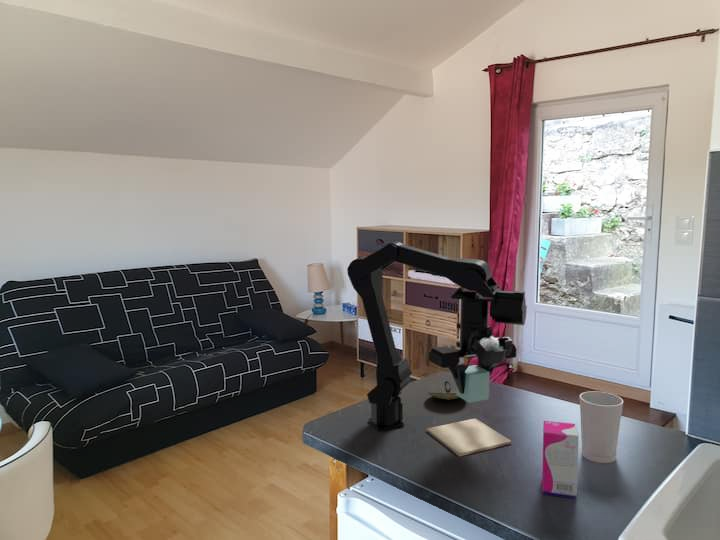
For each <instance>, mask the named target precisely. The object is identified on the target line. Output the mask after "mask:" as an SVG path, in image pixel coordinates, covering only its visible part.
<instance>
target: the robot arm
mask: <svg viewBox="0 0 720 540" xmlns="http://www.w3.org/2000/svg"><path fill="white" fill-rule="evenodd" d="M395 262H396V263H399V264H403V265H406V266H409V267H412V268H416V269H419V270H423V271H426V272H429V273H433V274H434V275H435V274H437V275H439V276H442V277H444V278H445V279H448V280H449V281H450V282H452V283H453V284H455V285H457V286H458V288H457V290H456V291H455V292H454V293H452V295H450V298H451V299H453V300H460V313H459V315H460V320H459V321H460V322H456V328H457V329H459V341H456V346H455V347H457V348H458V349H453V348H451V347H448V346H447V345H445V346H438V347H432V348H430V350H429V352H428V361H429V362H431V363H433V364H435V365H436V366H438V367H439V368H443V369H447V368H448V370H449V372H451V375H452V377H453V380H454V382H455V386H456V385H457V387H458V390H459V392H460V393H461V394H464V388H465V371H466V369H467V368H468V366H469V365H467V364H465V359H467V358H468V359H470V358H475V357H477V366H479V367H481V368H483V369H485V370H487V371H489V372H490V377H491V376H492V374H493V372H494V369H495V367H497V366H498V365H500V364H502V363H504V362H505V359H506V360H507V359H513V358H517V350H518V349H517V347H516V345H515V344H514V343H513V339H511V337H509V336H503V337H502V336H501V337H494V335H493V326H490V325H489V317H490V318H491V319H492V320H493V321H494V322H495V323H496V324H497V323H498V324H505V325H507V324H508V325H509V324H510V325H517V326H525V323H526V319H527V307H528V306H527V305H526V303H527V301H526V293H525V291H524V290H516V291H510V290H502V289H501V287H500V286H499V284H498V283H497V281H496V280H495V278H494V277H493V276H492V273H493V272H492V269H491V267H490V265H489V264H488V262H486V261H484V260H482V259H475V258H474V259H473V258H463V257H461V258H459V257H458V258H457V257H451V256H450V257H449V256H446V255H443V254H438V253H435V252H431V251H428V250H425V249H422V248H417V247H414V246H410V245H408V244H404V243H402V242H401V241H394V242H390V243H387V244H386V245H384V246H383V247H382V248H380V249H378V250H377V251H375V252H373V253H371V254H369V255H366V256H363V257H358V258H355V259H353V260H352V261H351V262H350V263H349V265H348V266H347V276H348V278H349V281H350V283H351V286H352V287H353V289H354V290H355V292H356V293H357V294H358V296H359V297H360V299H361V301H362V304H363V305H362V306H363V308H364V309H363V310H364V313H365V316H366V320H367V324H368V328H369V332H370V336H371V340H372V344H373V348H374V351H375V356H376V366H375V367H376V368H375V379H376V380H375V381H376V386H374V388H372V389H371V390H370V391H369V392H368V393H367V394H366V396H367V399H368V402H369V404H370V407H371V408H370V409H371V410H370V412H371V416H370V417H369V418H368V422H370V424H371V425H372V426H374V427H375V428H376V429H377V430H378V431H386V430H390V429H396V428H401V427H404V426H405V422H403V420H404V410H403V409H404V407H403V406H404V404H403V403H402V397H400V395H401V394H402V393H403V391H404V390H405V389H406V388H407V387H408V385H409V384H410V383H411V375H413V372H412V371H411V369H410V365H409V358H408V357H404V358H402V357H401V356H400V354H399V353H398V351H397V347H396V344H395V339H394V337H393V333H392V329H391V324H390V321H389V317H388V314H387V309H386V305H385V301H384V298H383V293H382V291H383V290H382V289H383V281H384V279H383V278H384V277H383V276H384V275H383V270H384V269H386V268H388V267H389V266H391V265H392V264H394V263H395ZM489 303H490V304H489ZM489 305H490V306H489Z"/></svg>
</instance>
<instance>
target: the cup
mask: <svg viewBox="0 0 720 540" xmlns="http://www.w3.org/2000/svg"><path fill="white" fill-rule="evenodd" d="M623 409H624V399H623V398H622V397H620V396H619V395H616V394H614V393H610V392H605V391H598V390H596V391H595V390H594V391H593V390H591V391H585V392H582V393H580V394H579V413H580V415H579V416H580V432H581V437H580V438H581V455H582V456H583V458H585V459H587V460H588V461H590V462H594V463H599V464H612V463H614V462H615V461H616V460H617V447H618V440H619V433H620V425H621V419H622V415H623V414H622V413H623Z"/></svg>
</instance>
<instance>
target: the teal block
mask: <svg viewBox="0 0 720 540" xmlns="http://www.w3.org/2000/svg"><path fill="white" fill-rule="evenodd" d="M467 366H468V368H467V369H466V371H465V388H464V394H461V393H460V392H459V390H458V387H457V385H456V384H455V392H456V395H457V396H459V398H460V399H462V400H464V401H465V402H466V403H469V404H470V403H475V402H479V401H480V402H481V401H487V400H490V378H491V376H490V372H489V371H487V370H485V369H483V368H481V367H479V366H478V364H477V365H476V364H475V365H473V364H472V365H467Z"/></svg>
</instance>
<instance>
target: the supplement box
mask: <svg viewBox="0 0 720 540" xmlns="http://www.w3.org/2000/svg"><path fill="white" fill-rule="evenodd" d="M542 434H543V435H542V436H543V438H542V468H541V469H542V471H541V472H542V474H541V476H542V478H541V480H542V481H541V492H542V494H543V495H548V496H553V497H554V496H555V497H562V498H567V499H574V500H577V498H578V473H579V472H578V467H579V463H578V462H579V431H578V428H577V424H576V423H570V422H560V421H549V420H543V433H542Z"/></svg>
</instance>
